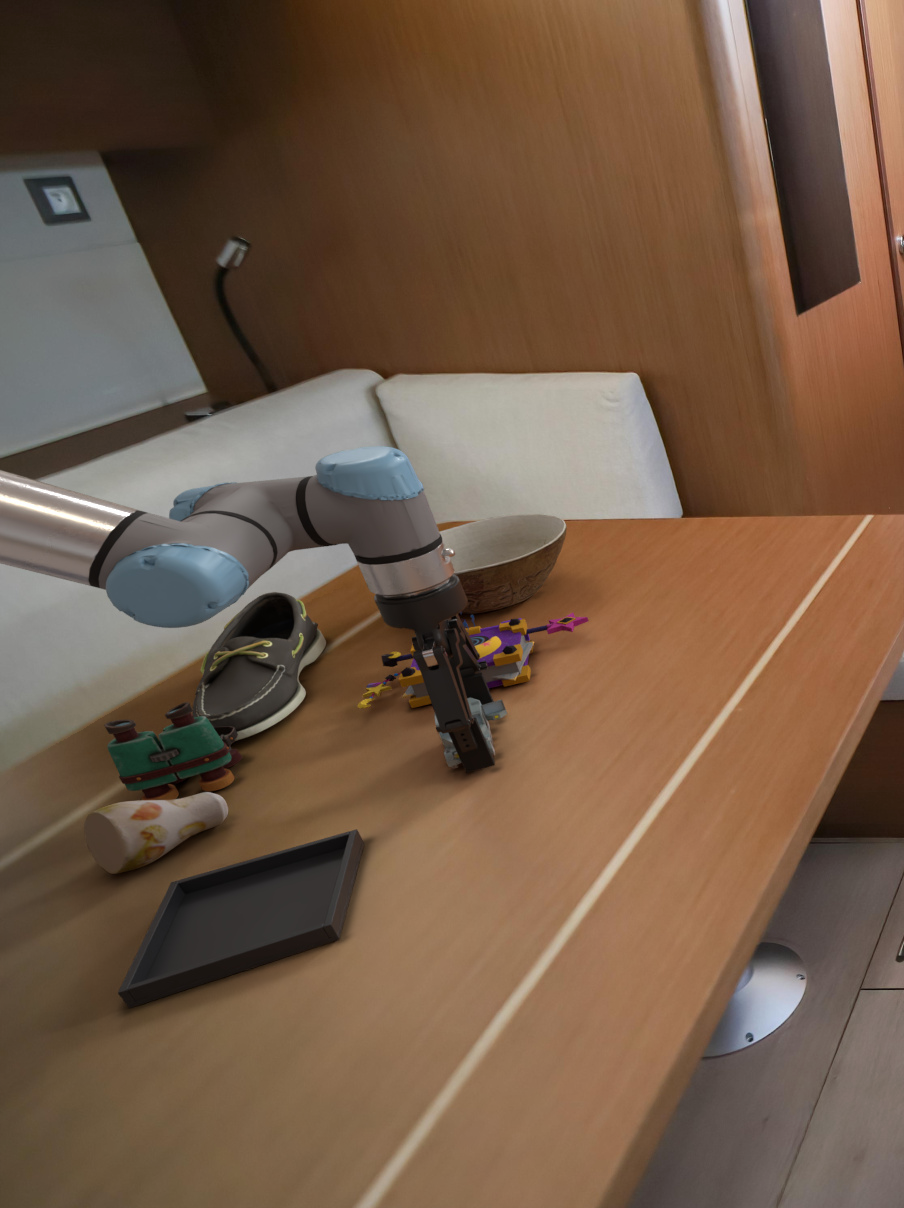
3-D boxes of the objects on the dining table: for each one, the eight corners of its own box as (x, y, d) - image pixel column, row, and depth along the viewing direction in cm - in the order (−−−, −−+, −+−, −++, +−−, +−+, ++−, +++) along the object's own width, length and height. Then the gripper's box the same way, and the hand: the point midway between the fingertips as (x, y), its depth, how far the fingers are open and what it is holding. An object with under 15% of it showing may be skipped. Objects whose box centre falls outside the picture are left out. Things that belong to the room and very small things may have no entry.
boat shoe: (189, 763, 113) (152, 703, 109) (221, 659, 133) (190, 605, 129) (316, 728, 120) (285, 670, 116) (328, 634, 139) (302, 582, 136)
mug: (261, 818, 105) (179, 787, 97) (171, 898, 100) (77, 873, 92) (218, 787, 107) (134, 754, 99) (128, 864, 102) (31, 837, 94)
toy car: (452, 775, 111) (437, 742, 109) (447, 735, 118) (433, 702, 116) (519, 754, 115) (506, 721, 113) (510, 716, 122) (497, 684, 120)
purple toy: (380, 671, 131) (343, 593, 126) (593, 625, 143) (568, 552, 137) (358, 726, 120) (316, 644, 114) (591, 672, 131) (563, 595, 126)
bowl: (393, 593, 150) (367, 536, 146) (568, 550, 165) (550, 497, 160) (406, 654, 135) (377, 592, 130) (598, 600, 149) (579, 543, 145)
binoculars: (214, 675, 113) (199, 707, 105) (253, 751, 117) (242, 786, 109) (103, 702, 107) (80, 737, 100) (149, 781, 111) (129, 820, 104)
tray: (129, 1008, 84) (117, 993, 83) (181, 896, 95) (171, 881, 94) (339, 939, 91) (331, 924, 90) (364, 842, 102) (357, 828, 101)
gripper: (448, 618, 100) (517, 784, 110) (464, 538, 117) (523, 688, 127) (355, 638, 96) (435, 807, 106) (386, 552, 113) (453, 705, 123)
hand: (483, 742), depth 117 cm, fingers closed on toy car, 10 cm apart
